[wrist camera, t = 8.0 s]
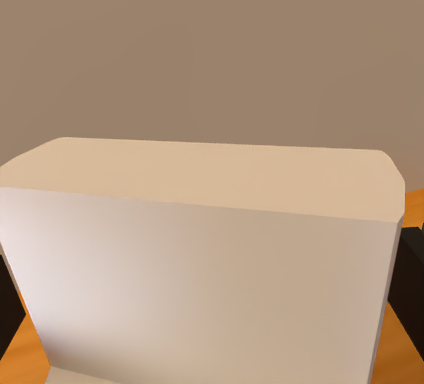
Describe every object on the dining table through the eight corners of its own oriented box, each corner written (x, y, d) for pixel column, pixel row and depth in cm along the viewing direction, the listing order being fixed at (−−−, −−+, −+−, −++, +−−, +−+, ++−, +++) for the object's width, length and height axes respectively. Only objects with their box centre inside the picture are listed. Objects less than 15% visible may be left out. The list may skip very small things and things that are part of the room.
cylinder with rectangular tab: (343, 381, 16) (382, 111, 11) (345, 720, 9) (478, 410, 3) (155, 342, 19) (107, 107, 13) (32, 579, 11) (-194, 270, 6)
